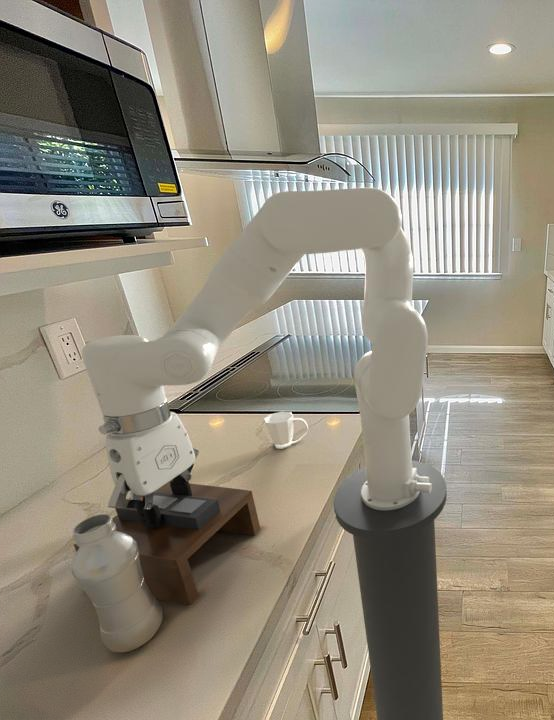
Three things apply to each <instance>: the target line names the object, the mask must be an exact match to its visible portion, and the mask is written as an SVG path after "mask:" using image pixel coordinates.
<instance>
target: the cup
mask: <svg viewBox="0 0 554 720" xmlns="http://www.w3.org/2000/svg"><path fill="white" fill-rule="evenodd" d="M263 421H264V424H265V425H266V428H267V431H268V434H269V436H270V438H271V440H272V442H273V444H274V447H275V449H280V450H283V449H286V448H289V447H291V446H292V445H295V444H298V443H299V442H300V441H302V440H303V439H304V438H305V437H306V436H307V434H308V433H309V425H308V423H307V421H306V420H304V419H303V418H301V417H294V414H293V413H292V411H283V410H281V411H278V412H274V413H270V414H268V415H266V417H265V418H263ZM298 421H300V422H302V423H303V424H304V426H305V428H306V432H304V434H303V435H302V436H301V437H300V438H298V439H296V440H294V441H293V438H294V423H295V422H298Z"/></svg>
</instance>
